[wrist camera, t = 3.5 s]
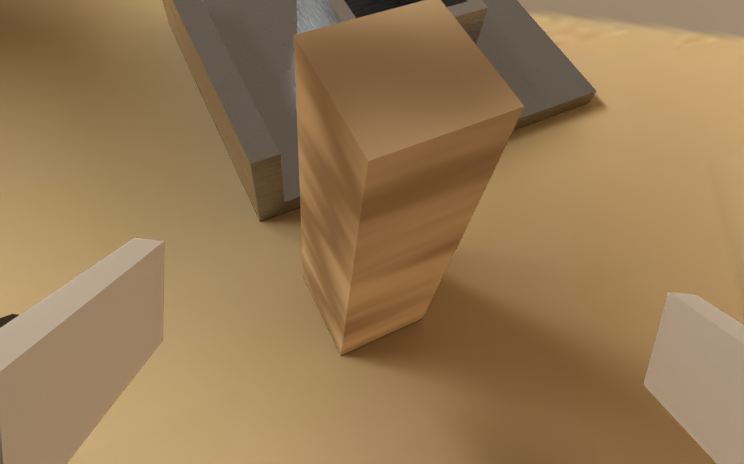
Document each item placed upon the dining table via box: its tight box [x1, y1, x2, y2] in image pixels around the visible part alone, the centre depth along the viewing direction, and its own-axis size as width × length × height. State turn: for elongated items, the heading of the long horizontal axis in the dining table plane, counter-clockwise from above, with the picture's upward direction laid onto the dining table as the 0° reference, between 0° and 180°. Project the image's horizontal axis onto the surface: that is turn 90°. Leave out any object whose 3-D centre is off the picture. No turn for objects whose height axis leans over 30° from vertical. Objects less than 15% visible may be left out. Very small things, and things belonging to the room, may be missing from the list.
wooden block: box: [294, 0, 525, 355], centre depth 21 cm, size 4×4×15 cm
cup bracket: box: [163, 0, 596, 221], centre depth 33 cm, size 16×22×6 cm
